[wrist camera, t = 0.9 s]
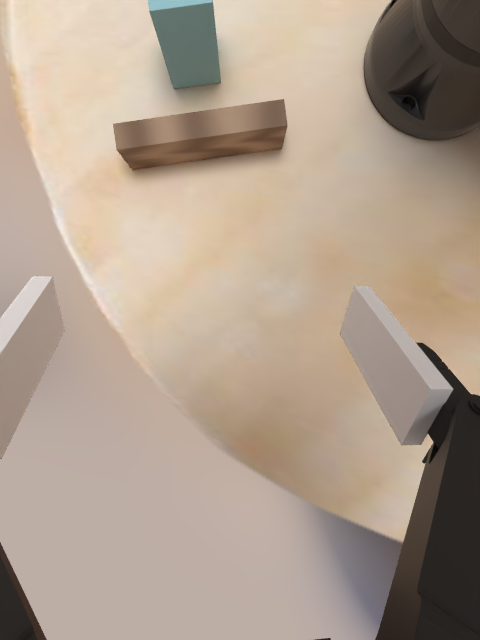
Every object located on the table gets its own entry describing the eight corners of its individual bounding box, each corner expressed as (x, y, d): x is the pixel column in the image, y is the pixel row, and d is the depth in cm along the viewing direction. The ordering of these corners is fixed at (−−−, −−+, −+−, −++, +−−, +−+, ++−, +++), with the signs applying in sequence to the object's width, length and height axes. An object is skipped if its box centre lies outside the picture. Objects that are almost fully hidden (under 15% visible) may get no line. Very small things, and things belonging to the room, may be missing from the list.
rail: (278, 126, 39) (283, 99, 34) (281, 149, 39) (287, 125, 34) (129, 148, 39) (113, 124, 34) (133, 170, 39) (116, 149, 34)
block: (214, 34, 38) (204, -63, 28) (220, 82, 38) (212, 2, 28) (167, 41, 38) (140, -54, 28) (173, 89, 38) (149, 11, 28)
